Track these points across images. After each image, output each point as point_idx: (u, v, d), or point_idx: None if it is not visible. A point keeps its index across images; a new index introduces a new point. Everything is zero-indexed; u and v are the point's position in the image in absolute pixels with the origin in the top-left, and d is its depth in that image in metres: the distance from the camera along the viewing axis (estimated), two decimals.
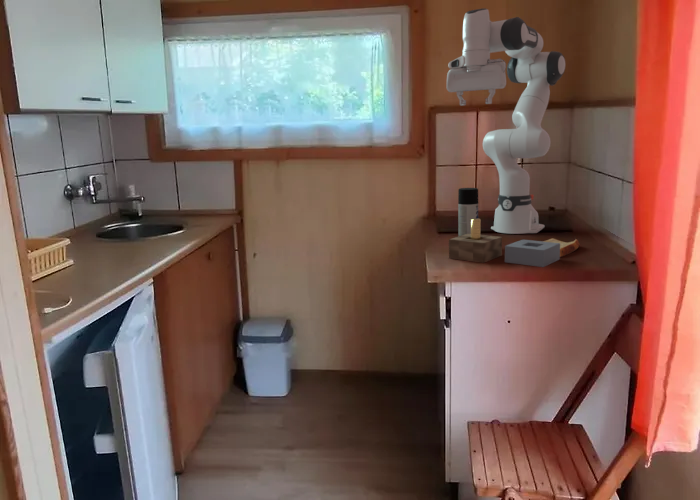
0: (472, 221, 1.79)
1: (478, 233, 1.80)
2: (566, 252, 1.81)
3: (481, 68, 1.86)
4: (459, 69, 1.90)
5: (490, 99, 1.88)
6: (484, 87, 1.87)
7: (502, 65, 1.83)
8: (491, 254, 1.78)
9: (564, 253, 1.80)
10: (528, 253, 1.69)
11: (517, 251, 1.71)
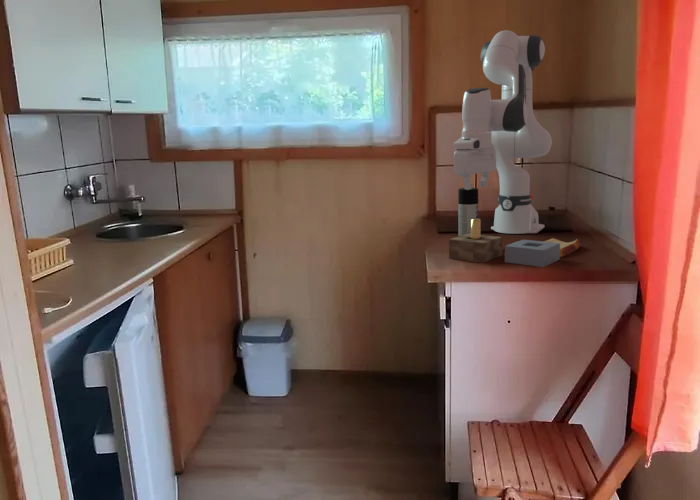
0: (472, 221, 1.79)
1: (478, 233, 1.80)
2: (567, 252, 1.81)
3: None
4: (477, 151, 1.71)
5: None
6: (487, 170, 1.79)
7: None
8: (491, 254, 1.78)
9: (565, 253, 1.80)
10: (528, 253, 1.69)
11: (517, 251, 1.71)
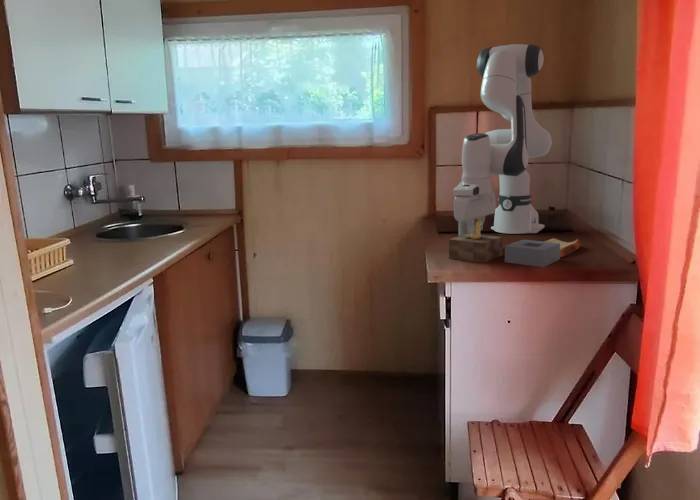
0: None
1: (478, 233, 1.80)
2: (567, 252, 1.81)
3: (485, 195, 1.80)
4: (476, 197, 1.74)
5: None
6: (487, 213, 1.82)
7: None
8: (491, 254, 1.78)
9: (565, 253, 1.80)
10: (528, 253, 1.69)
11: (517, 251, 1.71)
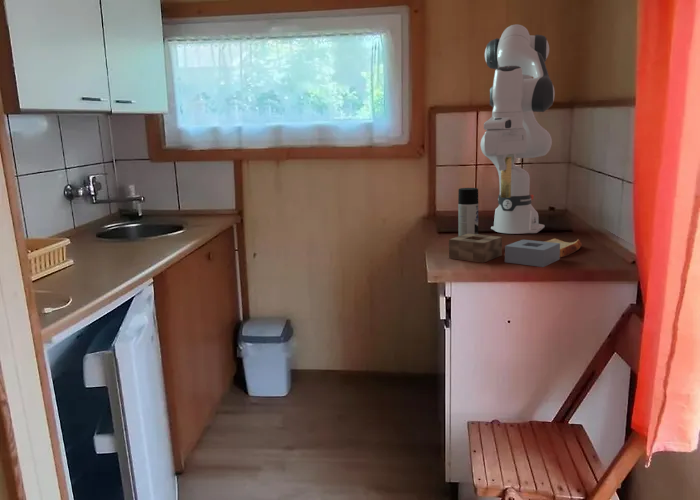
0: None
1: (508, 172, 1.71)
2: (567, 252, 1.80)
3: (517, 131, 1.71)
4: (508, 131, 1.65)
5: None
6: (518, 152, 1.73)
7: None
8: (491, 254, 1.78)
9: (565, 253, 1.79)
10: (528, 253, 1.69)
11: (517, 251, 1.71)
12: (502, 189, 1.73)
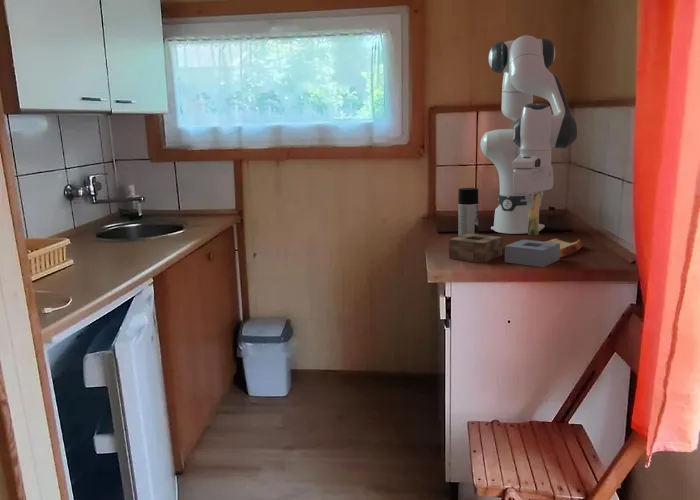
0: None
1: (536, 209, 1.70)
2: (567, 252, 1.80)
3: None
4: (537, 169, 1.64)
5: None
6: (545, 188, 1.72)
7: None
8: (491, 254, 1.78)
9: (565, 253, 1.79)
10: (528, 253, 1.69)
11: (517, 251, 1.71)
12: (530, 226, 1.72)
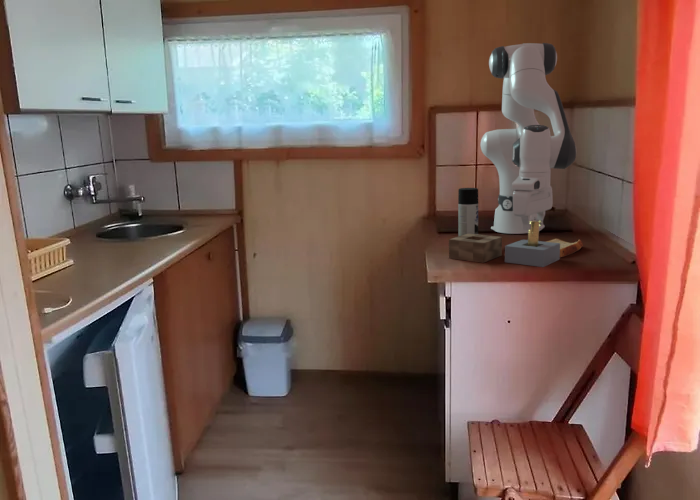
0: (530, 223, 1.72)
1: (536, 236, 1.72)
2: (567, 252, 1.80)
3: None
4: (537, 191, 1.65)
5: None
6: (544, 209, 1.73)
7: None
8: (491, 254, 1.78)
9: (565, 253, 1.79)
10: (528, 253, 1.69)
11: (517, 251, 1.71)
12: None
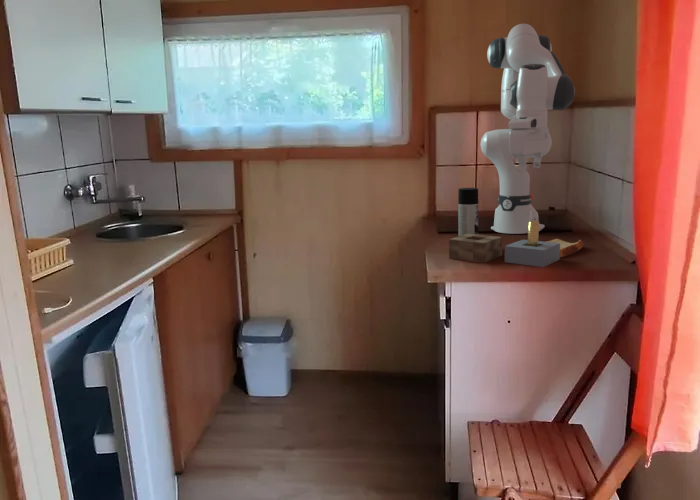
0: (530, 223, 1.71)
1: (536, 236, 1.72)
2: (568, 252, 1.80)
3: None
4: (533, 130, 1.64)
5: None
6: (541, 150, 1.72)
7: None
8: (491, 254, 1.78)
9: (565, 253, 1.79)
10: (528, 253, 1.69)
11: (517, 251, 1.71)
12: None
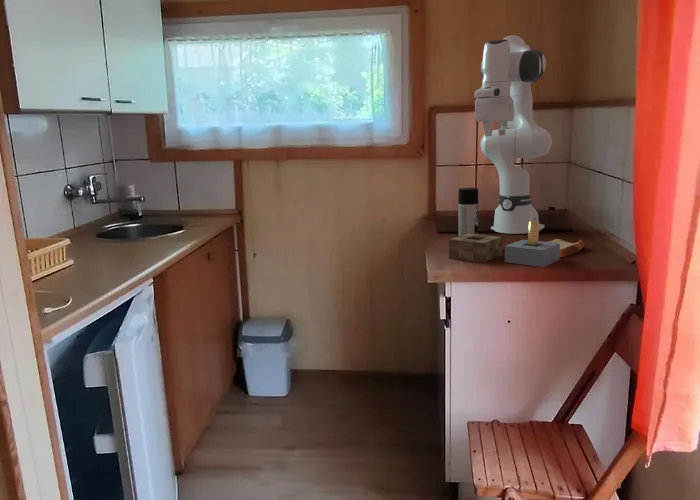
0: (530, 223, 1.71)
1: (536, 236, 1.72)
2: (568, 252, 1.80)
3: None
4: (497, 98, 1.81)
5: None
6: (506, 119, 1.89)
7: None
8: (491, 254, 1.78)
9: (565, 253, 1.79)
10: (528, 253, 1.69)
11: (517, 251, 1.71)
12: None
